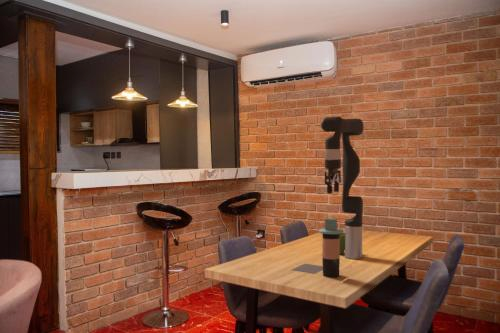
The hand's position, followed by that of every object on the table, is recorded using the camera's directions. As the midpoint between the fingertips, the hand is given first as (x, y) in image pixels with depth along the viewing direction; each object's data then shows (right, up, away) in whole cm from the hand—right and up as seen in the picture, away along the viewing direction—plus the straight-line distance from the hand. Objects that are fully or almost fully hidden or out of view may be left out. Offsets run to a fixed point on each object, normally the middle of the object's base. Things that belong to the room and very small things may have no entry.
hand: (333, 192), depth 196 cm
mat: (-11, -37, 0) cm, 39 cm away
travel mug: (-3, -37, -12) cm, 39 cm away
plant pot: (+10, -37, +37) cm, 53 cm away
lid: (-3, -17, -12) cm, 21 cm away
